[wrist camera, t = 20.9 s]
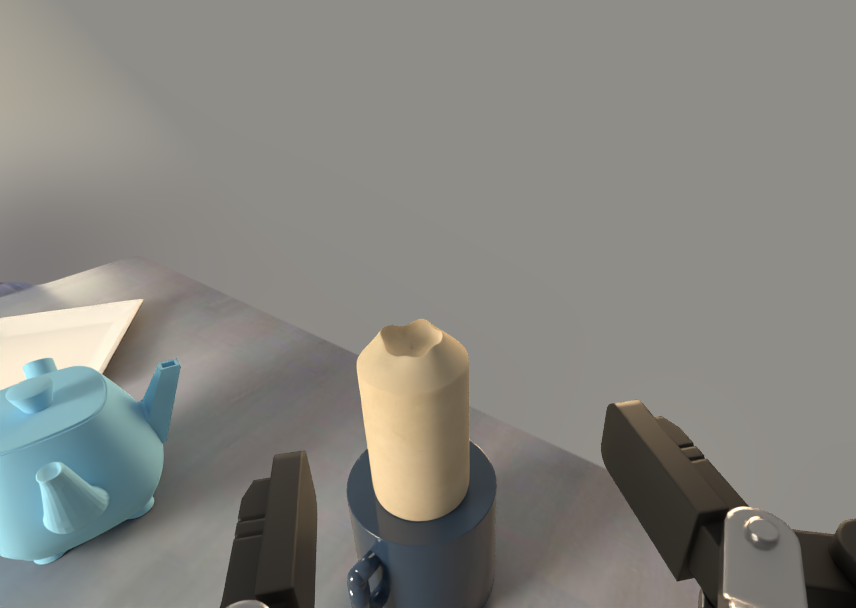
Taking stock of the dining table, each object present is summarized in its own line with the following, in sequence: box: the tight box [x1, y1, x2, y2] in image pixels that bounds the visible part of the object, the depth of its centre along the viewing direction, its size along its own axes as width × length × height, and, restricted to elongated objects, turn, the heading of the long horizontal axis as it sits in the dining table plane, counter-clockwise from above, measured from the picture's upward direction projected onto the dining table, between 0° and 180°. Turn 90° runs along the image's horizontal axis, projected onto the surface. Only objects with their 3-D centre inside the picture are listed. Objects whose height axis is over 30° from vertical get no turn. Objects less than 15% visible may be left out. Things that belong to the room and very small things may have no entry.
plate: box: [0, 299, 143, 390], centre depth 56 cm, size 19×19×2 cm
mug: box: [347, 440, 497, 608], centre depth 30 cm, size 10×9×8 cm
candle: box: [357, 319, 470, 521], centre depth 26 cm, size 6×6×10 cm
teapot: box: [0, 358, 181, 564], centre depth 36 cm, size 15×14×11 cm
